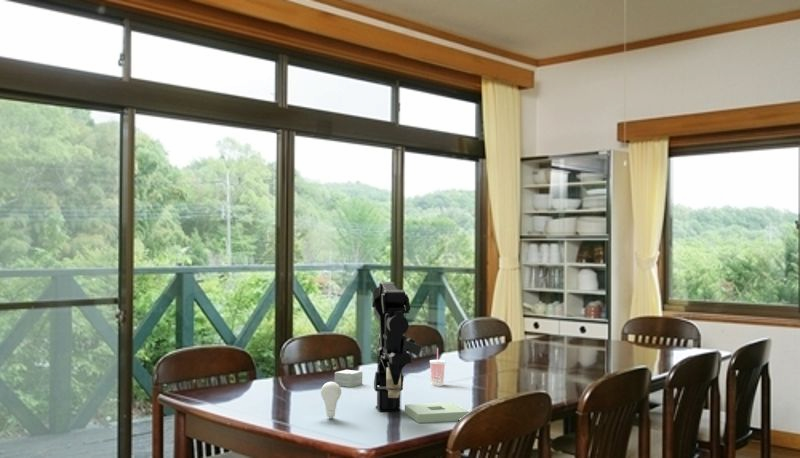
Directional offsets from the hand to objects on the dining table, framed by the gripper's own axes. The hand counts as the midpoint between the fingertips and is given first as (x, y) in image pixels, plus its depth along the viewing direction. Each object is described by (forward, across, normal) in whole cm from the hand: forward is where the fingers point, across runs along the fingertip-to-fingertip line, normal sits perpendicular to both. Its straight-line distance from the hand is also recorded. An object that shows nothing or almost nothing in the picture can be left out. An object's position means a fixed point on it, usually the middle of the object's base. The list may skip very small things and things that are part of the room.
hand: (393, 383), depth 225 cm
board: (+11, +1, -14) cm, 18 cm away
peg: (+4, 0, 0) cm, 4 cm away
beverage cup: (+11, +52, -32) cm, 62 cm away
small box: (+11, +60, +1) cm, 61 cm away
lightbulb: (+11, +6, +18) cm, 22 cm away
